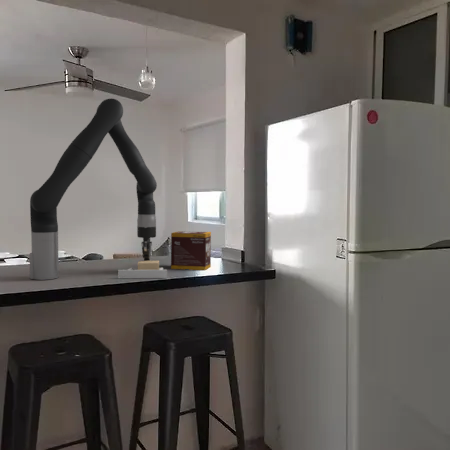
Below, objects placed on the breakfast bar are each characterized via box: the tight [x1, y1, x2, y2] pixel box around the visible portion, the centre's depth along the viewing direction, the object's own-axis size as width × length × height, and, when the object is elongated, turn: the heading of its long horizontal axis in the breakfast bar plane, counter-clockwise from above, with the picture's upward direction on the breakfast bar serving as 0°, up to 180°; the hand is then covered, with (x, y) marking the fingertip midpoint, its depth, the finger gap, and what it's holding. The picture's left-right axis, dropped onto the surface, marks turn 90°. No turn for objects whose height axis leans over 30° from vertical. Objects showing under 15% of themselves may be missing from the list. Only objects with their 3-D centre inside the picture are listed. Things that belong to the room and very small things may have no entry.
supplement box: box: [170, 231, 212, 271], centre depth 194 cm, size 10×15×16 cm
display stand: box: [117, 267, 168, 279], centre depth 174 cm, size 18×13×3 cm
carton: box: [137, 260, 160, 270], centre depth 177 cm, size 8×8×5 cm
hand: (146, 267), depth 183 cm, fingers closed
